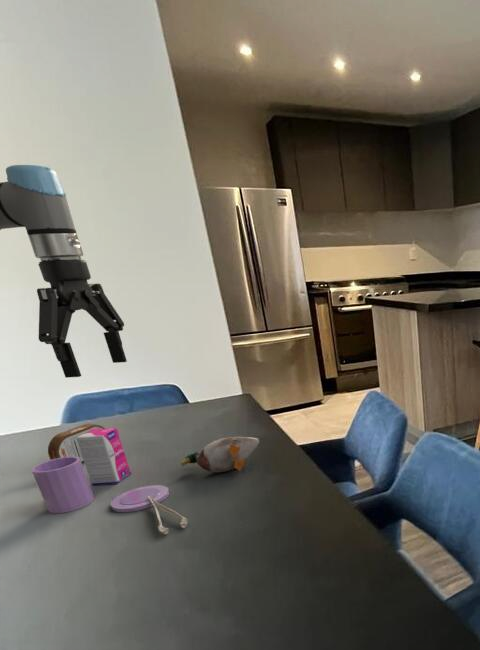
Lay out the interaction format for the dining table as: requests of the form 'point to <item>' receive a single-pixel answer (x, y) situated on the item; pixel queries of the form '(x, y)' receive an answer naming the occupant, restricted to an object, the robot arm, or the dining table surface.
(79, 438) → the supplement box
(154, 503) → the beige thin v-shaped piece
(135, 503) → the saucer
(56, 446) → the tin
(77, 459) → the lilac cup
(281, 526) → the dining table surface
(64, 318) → the robot arm
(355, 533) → the dining table surface
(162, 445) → the dining table surface
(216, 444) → the decorative duck model
